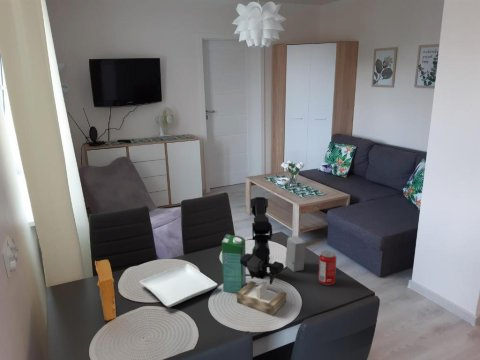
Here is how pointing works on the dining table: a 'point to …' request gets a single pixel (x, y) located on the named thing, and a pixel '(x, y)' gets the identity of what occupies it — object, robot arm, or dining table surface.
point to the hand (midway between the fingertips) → (261, 281)
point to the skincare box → (295, 253)
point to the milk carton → (233, 263)
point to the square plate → (178, 284)
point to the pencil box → (261, 305)
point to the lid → (261, 292)
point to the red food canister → (327, 267)
